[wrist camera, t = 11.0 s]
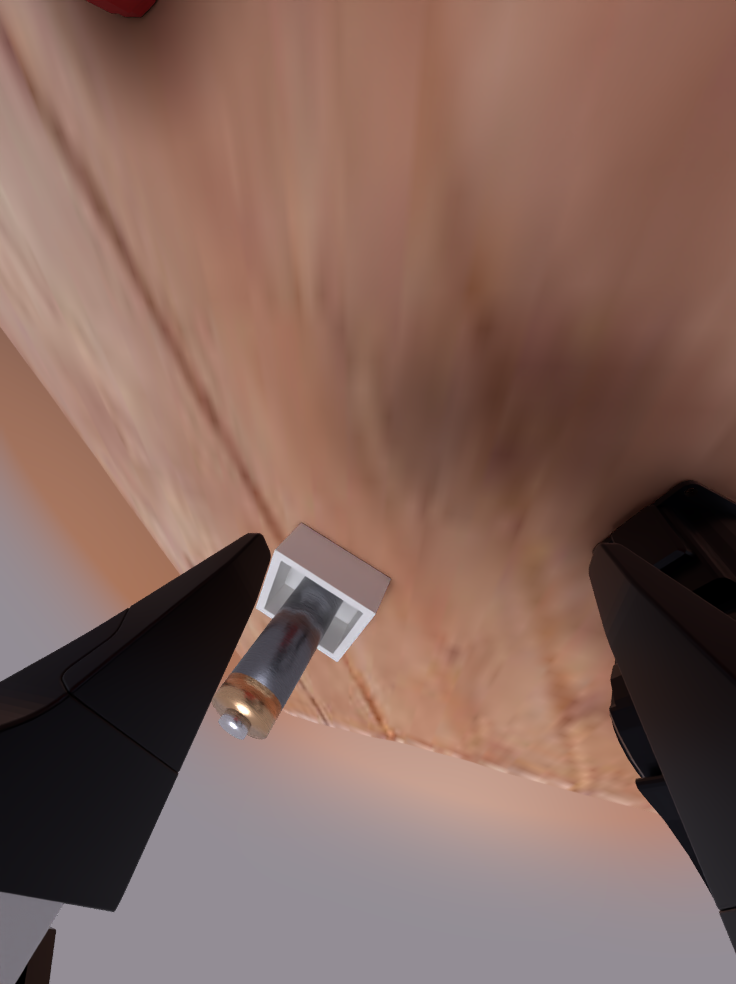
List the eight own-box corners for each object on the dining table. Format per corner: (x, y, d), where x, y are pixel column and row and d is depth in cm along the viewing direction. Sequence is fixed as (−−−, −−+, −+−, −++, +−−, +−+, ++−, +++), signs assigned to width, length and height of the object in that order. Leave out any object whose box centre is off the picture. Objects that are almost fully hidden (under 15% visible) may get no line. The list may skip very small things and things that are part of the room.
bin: (391, 578, 28) (375, 613, 25) (353, 628, 34) (337, 662, 30) (301, 522, 29) (275, 549, 26) (279, 580, 34) (255, 607, 31)
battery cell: (345, 571, 29) (250, 724, 18) (349, 604, 31) (266, 759, 20) (304, 561, 30) (194, 698, 20) (311, 594, 33) (215, 733, 22)
